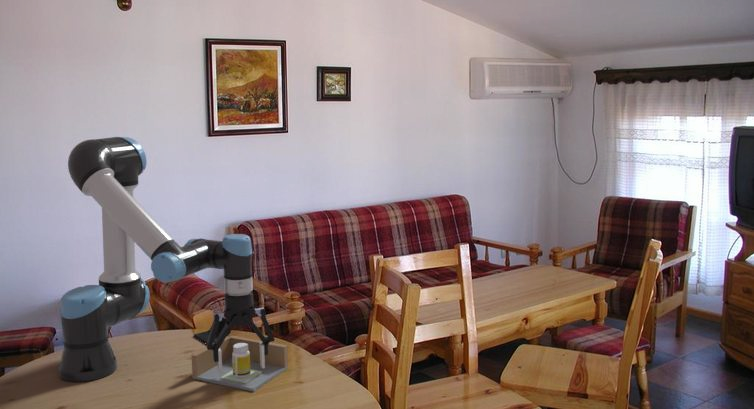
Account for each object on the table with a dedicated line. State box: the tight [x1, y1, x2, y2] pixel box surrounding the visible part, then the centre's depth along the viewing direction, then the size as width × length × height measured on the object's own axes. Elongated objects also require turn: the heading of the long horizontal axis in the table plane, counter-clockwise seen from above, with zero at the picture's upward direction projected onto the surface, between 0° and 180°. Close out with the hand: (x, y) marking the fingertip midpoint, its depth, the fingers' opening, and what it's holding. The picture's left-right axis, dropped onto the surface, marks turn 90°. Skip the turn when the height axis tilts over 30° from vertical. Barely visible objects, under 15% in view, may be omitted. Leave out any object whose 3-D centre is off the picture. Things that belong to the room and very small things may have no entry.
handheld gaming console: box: [193, 317, 235, 344], centre depth 222 cm, size 12×7×10 cm
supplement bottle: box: [232, 343, 251, 378], centre depth 191 cm, size 5×5×8 cm
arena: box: [191, 334, 289, 393], centre depth 194 cm, size 20×17×7 cm
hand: (241, 369), depth 191 cm, fingers open, 11 cm apart
